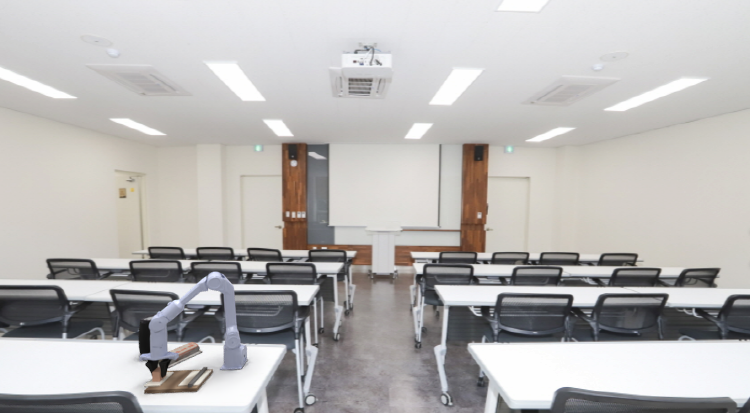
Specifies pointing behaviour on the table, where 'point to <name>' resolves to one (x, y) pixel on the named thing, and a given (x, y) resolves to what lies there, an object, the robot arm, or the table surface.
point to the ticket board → (182, 381)
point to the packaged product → (184, 353)
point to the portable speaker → (144, 334)
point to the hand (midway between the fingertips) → (159, 376)
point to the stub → (157, 378)
